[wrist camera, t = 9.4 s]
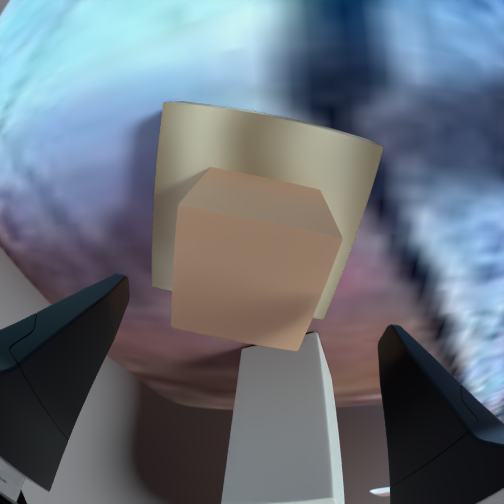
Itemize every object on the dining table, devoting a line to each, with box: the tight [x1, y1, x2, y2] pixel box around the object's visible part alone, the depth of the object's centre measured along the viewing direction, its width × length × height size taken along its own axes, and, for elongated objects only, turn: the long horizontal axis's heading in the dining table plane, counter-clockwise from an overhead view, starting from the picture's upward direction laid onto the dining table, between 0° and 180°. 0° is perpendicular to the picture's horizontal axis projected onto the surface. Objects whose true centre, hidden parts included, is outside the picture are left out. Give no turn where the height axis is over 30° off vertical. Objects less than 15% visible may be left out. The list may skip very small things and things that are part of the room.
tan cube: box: [171, 167, 343, 351], centre depth 14 cm, size 6×6×6 cm
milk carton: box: [221, 332, 344, 504], centre depth 19 cm, size 7×7×19 cm
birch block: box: [152, 101, 384, 319], centre depth 19 cm, size 12×12×4 cm
